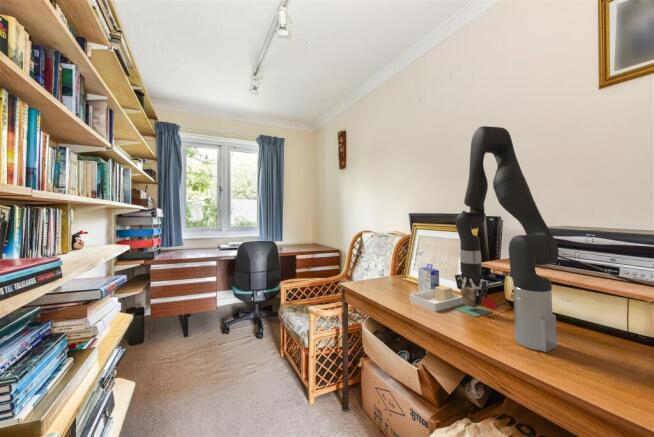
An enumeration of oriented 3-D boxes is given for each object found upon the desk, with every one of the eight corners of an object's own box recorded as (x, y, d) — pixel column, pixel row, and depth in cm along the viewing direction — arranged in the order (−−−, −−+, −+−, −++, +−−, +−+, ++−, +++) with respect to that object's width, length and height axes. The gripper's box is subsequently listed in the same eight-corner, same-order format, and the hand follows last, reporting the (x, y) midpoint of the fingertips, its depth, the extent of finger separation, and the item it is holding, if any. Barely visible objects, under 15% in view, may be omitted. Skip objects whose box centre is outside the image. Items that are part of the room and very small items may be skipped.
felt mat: (492, 312, 105) (492, 311, 105) (475, 317, 101) (475, 316, 100) (469, 305, 114) (469, 303, 114) (453, 309, 110) (452, 308, 110)
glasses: (463, 303, 118) (463, 292, 117) (485, 296, 125) (485, 286, 125) (496, 313, 105) (495, 300, 105) (518, 304, 113) (518, 293, 113)
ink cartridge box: (440, 294, 129) (439, 265, 129) (431, 296, 127) (430, 266, 127) (426, 289, 138) (425, 262, 138) (418, 291, 137) (417, 263, 136)
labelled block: (482, 305, 106) (481, 288, 106) (473, 307, 104) (473, 290, 104) (470, 301, 111) (470, 285, 110) (462, 303, 108) (461, 287, 108)
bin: (462, 304, 115) (462, 296, 115) (435, 312, 108) (434, 303, 107) (436, 295, 128) (435, 288, 128) (409, 302, 121) (409, 294, 121)
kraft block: (452, 301, 119) (451, 288, 118) (444, 303, 116) (443, 289, 116) (443, 298, 123) (442, 285, 123) (435, 300, 121) (434, 287, 121)
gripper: (494, 262, 102) (495, 306, 102) (461, 257, 115) (462, 296, 115) (481, 265, 99) (482, 309, 99) (449, 259, 112) (450, 299, 112)
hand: (471, 302), depth 107 cm, fingers closed on labelled block, 5 cm apart
